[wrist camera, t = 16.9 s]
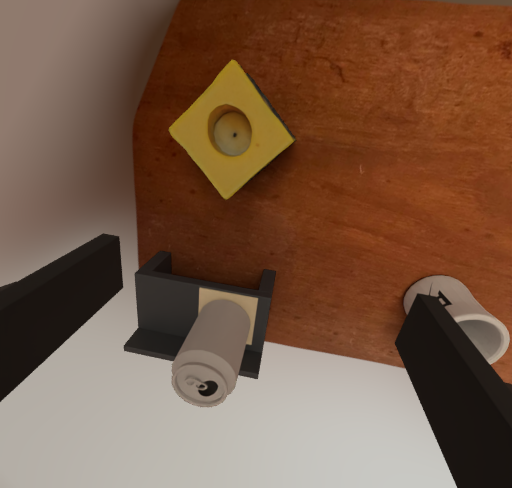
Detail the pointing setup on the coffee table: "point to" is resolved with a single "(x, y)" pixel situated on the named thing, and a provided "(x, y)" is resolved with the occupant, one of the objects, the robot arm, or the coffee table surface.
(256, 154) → the candle
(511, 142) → the coffee table surface
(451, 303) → the mug
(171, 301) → the shelf
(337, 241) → the coffee table surface
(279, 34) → the coffee table surface
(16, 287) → the robot arm
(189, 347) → the can
